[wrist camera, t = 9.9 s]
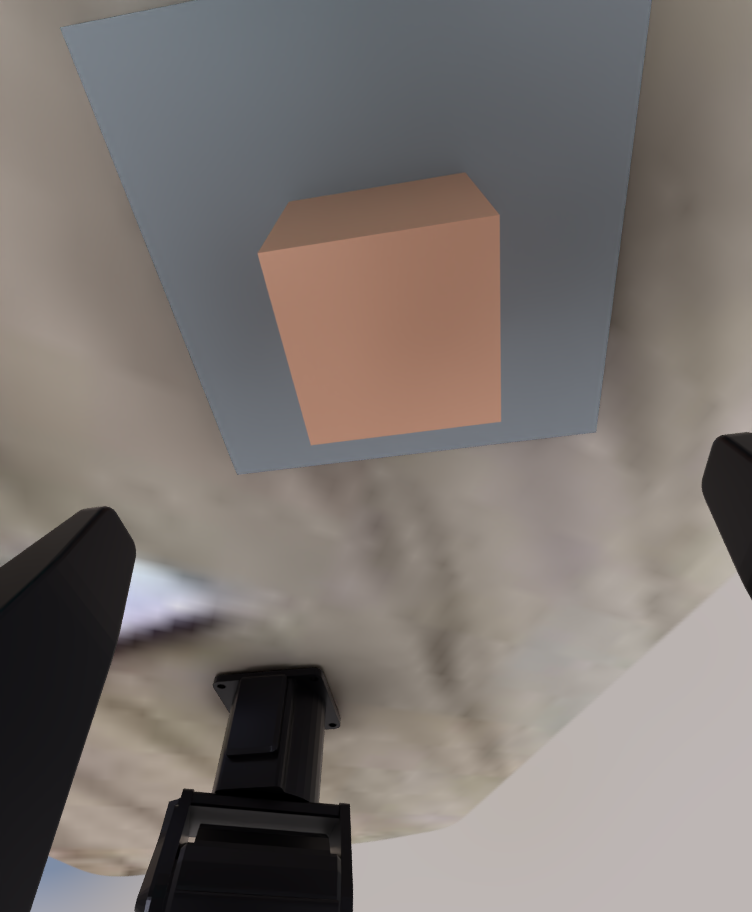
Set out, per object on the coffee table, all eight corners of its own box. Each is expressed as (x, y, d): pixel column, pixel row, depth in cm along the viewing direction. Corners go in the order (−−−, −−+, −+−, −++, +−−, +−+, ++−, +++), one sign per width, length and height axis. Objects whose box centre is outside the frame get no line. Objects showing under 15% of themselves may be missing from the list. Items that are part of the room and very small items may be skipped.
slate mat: (590, 423, 20) (596, 432, 20) (240, 465, 21) (237, 474, 21) (652, -88, 12) (663, -94, 11) (71, 28, 13) (60, 27, 13)
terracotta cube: (471, 339, 17) (500, 421, 13) (325, 359, 18) (310, 445, 14) (465, 172, 14) (499, 214, 10) (288, 201, 15) (257, 253, 11)
